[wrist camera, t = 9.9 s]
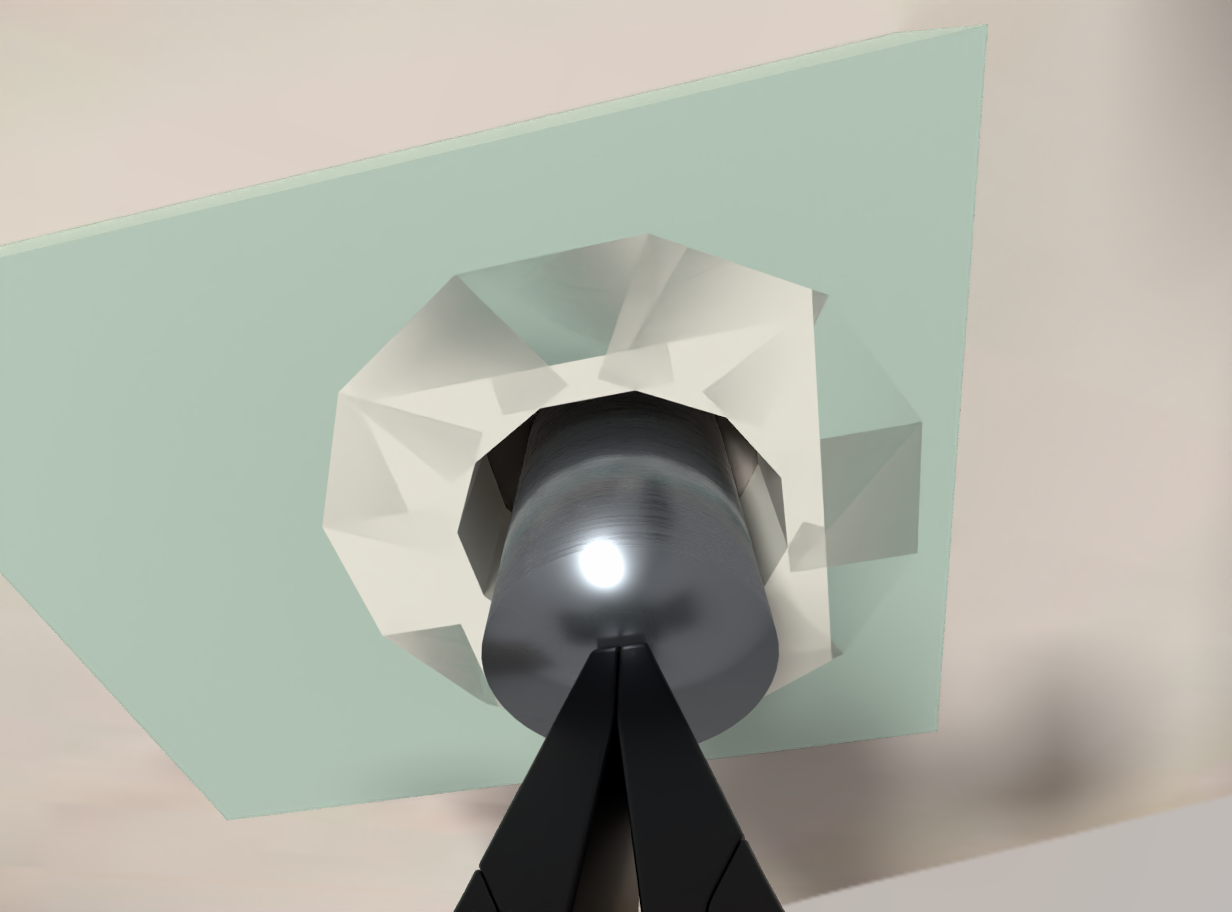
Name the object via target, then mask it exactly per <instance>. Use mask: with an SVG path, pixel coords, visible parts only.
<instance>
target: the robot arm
mask: <svg viewBox="0 0 1232 912" xmlns="http://www.w3.org/2000/svg"><path fill="white" fill-rule="evenodd" d="M479 868H480V870H481V871H480V870H476V871H475V872H474V874H473V876H472V878H471V880H470V882H469V884H468V886H467V888H466V890H465V891H464V893H463V895H462V897H461V899H460V901H459V903H458V904H457V906H456V908H455V910H454V912H638V905H639V899H640V907H641V912H785V911H784V909H783V908H782V906H781V904H780V902H779V900H778V899H777V897H776V895H775V893H774V891H773V889H772V888H771V886H770V884H769V882H768V880H767V878H766V876H765V875H764V873H763V871H762V869H761V867H760V865H759V863H758V861H757V859H756V857H755V855H754V853H753V851H752V849H751V847H750V845H749V843H748V842H747V841H746V840H745V837H744V834H743V832H742V830H741V828H740V826H739V824H738V822H737V820H736V818H735V816H734V814H733V812H732V810H731V808H730V806H729V804H728V802H727V800H726V798H725V796H724V794H723V792H722V790H721V788H720V786H719V784H718V782H717V780H716V778H715V776H714V774H713V772H712V770H711V768H710V766H709V764H708V762H707V760H706V758H705V756H704V754H703V752H702V750H701V748H700V746H699V744H698V742H697V740H696V738H695V736H694V734H693V732H692V730H691V728H690V726H689V724H688V722H687V720H686V718H685V716H684V714H683V712H682V711H681V709H680V707H679V705H678V703H677V701H676V699H675V697H674V695H673V693H672V691H671V689H670V687H669V685H668V683H667V681H666V679H665V677H664V675H663V673H662V671H661V669H660V667H659V665H658V663H657V661H656V659H655V657H654V655H653V653H652V651H651V649H650V647H649V645H648V644H647V643H645V642H642V643H635V644H628V645H623V646H622V647H621V649H619V648H618V647H608V648H601V649H595V650H593V651H592V652H591V653H590V655H589V657H588V658H587V660H586V662H585V664H584V666H583V668H582V670H581V672H580V674H579V676H578V677H577V679H576V681H575V683H574V685H573V687H572V689H571V691H570V693H569V695H568V696H567V698H566V700H565V702H564V704H563V706H562V708H561V710H560V712H559V713H558V715H557V717H556V719H555V721H554V723H553V725H552V727H551V729H550V731H549V732H548V734H547V736H546V738H545V740H544V742H543V744H542V746H541V748H540V750H539V751H538V753H537V755H536V757H535V759H534V761H533V763H532V765H531V767H530V769H529V770H528V772H527V774H526V776H525V778H524V780H523V782H522V784H521V786H520V788H519V789H518V791H517V793H516V795H515V797H514V799H513V801H512V803H511V805H510V806H509V808H508V810H507V812H506V814H505V816H504V818H503V820H502V822H501V824H500V825H499V827H498V829H497V831H496V833H495V835H494V837H493V839H492V841H491V843H490V844H489V846H488V848H487V850H486V852H485V854H484V856H483V858H482V860H481V862H480V864H479Z"/></svg>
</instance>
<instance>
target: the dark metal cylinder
mask: <svg viewBox="0 0 1232 912" xmlns="http://www.w3.org/2000/svg"><path fill="white" fill-rule="evenodd" d="M642 642H645V643H647V644H648V645H649V647H650V649H651V651H652V653H653V655H654V657H655V659H656V661H657V663H658V665H659V667H660V669H661V671H662V673H663V675H664V677H665V679H666V681H667V683H668V685H669V687H670V689H671V691H672V693H673V695H674V697H675V699H676V701H677V703H678V705H679V707H680V709H681V711H682V712H683V714H684V716H685V718H686V720H687V722H688V724H689V726H690V728H691V730H692V732H693V734H694V736H695V738H696V740H697V742H698V743H701V742H703V741H706V740H708V739H710V738H712V737H714V736H717V735H719V734H721V733H722V732H724V731H726V730H727V729H729V728H731V727H732V726H734V725H735V724H736V723H738V722H739V721H740V720H742V719H743V718H744V717H746V716H747V715H748V714H749V713H750V712H751V711H752V710H753V709H754V708H755V707H756V706H757V705H758V703H759V702H760V701H761V699H762V698H763V697H764V696H765V694H766V692H767V691H768V689H769V687H770V685H771V683H772V681H773V678H774V676H775V673H776V670H777V665H778V659H779V642H778V637H777V633H776V628H775V625H774V621H773V617H772V614H771V610H770V607H769V603H768V600H767V596H766V592H765V589H764V585H763V582H762V578H761V575H760V571H759V568H758V564H757V560H756V557H755V553H754V550H753V546H752V543H751V539H750V535H749V532H748V528H747V525H746V521H745V518H744V514H743V511H742V507H741V503H740V500H739V496H738V493H737V489H736V486H735V482H734V478H733V475H732V471H731V468H730V464H729V461H728V457H727V453H726V450H725V446H724V443H723V439H722V436H721V432H720V429H719V426H718V423H717V421H716V418H715V416H714V414H713V413H710V412H706V411H703V410H700V409H696V408H693V407H690V406H686V405H683V404H680V403H676V402H673V401H670V400H666V399H663V398H660V397H656V396H653V395H649V394H646V393H643V392H639V391H636V390H634V391H629V392H624V393H618V394H613V395H608V396H602V397H597V398H592V399H587V400H581V401H576V402H571V403H565V404H560V405H555V406H549V407H544V408H541V409H540V411H539V412H538V414H537V416H536V418H535V420H534V423H533V425H532V428H531V431H530V436H529V440H528V444H527V449H526V453H525V457H524V462H523V466H522V470H521V475H520V479H519V484H518V488H517V492H516V497H515V501H514V505H513V510H512V514H511V518H510V523H509V527H508V531H507V536H506V540H505V544H504V549H503V553H502V557H501V562H500V566H499V571H498V575H497V579H496V584H495V588H494V592H493V597H492V601H491V605H490V610H489V614H488V618H487V623H486V627H485V631H484V636H483V641H482V653H481V659H482V665H483V671H484V674H485V677H486V680H487V683H488V685H489V687H490V689H491V690H492V692H493V694H494V696H495V697H496V699H497V700H498V701H499V702H500V704H501V705H502V706H503V707H504V709H506V710H507V711H508V712H509V713H510V714H511V715H512V716H513V717H514V718H515V719H516V720H518V721H519V722H520V723H522V724H523V725H524V726H526V727H527V728H529V729H530V730H532V731H534V732H536V733H537V734H539V735H541V736H543V737H545V738H546V736H547V734H548V732H549V731H550V729H551V727H552V725H553V723H554V721H555V719H556V717H557V715H558V713H559V712H560V710H561V708H562V706H563V704H564V702H565V700H566V698H567V696H568V695H569V693H570V691H571V689H572V687H573V685H574V683H575V681H576V679H577V677H578V676H579V674H580V672H581V670H582V668H583V666H584V664H585V662H586V660H587V658H588V657H589V655H590V653H591V652H592V651H593V650H595V649H601V648H608V647H618V648H619V649H621V647H622V646H623V645H628V644H635V643H642Z"/></svg>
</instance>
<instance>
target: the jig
mask: <svg viewBox="0 0 1232 912" xmlns="http://www.w3.org/2000/svg"><path fill="white" fill-rule="evenodd" d="M987 27H988V24H986V25H975V26H964V27H953V28H942V29H931V30H920V31H909V32H898V33H894V34H890V35H885V36H881V37H877V38H873V39H869V40H864V41H860V42H856V43H852V44H848V45H843V46H839V47H835V48H831V49H827V50H822V51H818V52H814V53H810V54H806V55H801V56H797V57H793V58H789V59H785V60H780V61H776V62H772V63H768V64H764V65H759V66H755V67H751V68H747V69H743V70H738V71H734V72H730V73H726V74H722V75H717V76H713V77H709V78H705V79H701V80H696V81H692V82H688V83H684V84H679V85H675V86H671V87H667V88H663V89H658V90H654V91H650V92H646V93H642V94H637V95H633V96H629V97H625V98H621V99H616V100H612V101H608V102H604V103H600V104H595V105H591V106H587V107H583V108H579V109H574V110H570V111H566V112H562V113H558V114H553V115H549V116H545V117H541V118H537V119H532V120H528V121H524V122H520V123H516V124H511V125H507V126H503V127H499V128H495V129H490V130H486V131H482V132H478V133H474V134H469V135H465V136H461V137H457V138H452V139H448V140H444V141H440V142H436V143H431V144H427V145H423V146H419V147H415V148H410V149H406V150H402V151H398V152H394V153H389V154H385V155H381V156H377V157H373V158H368V159H364V160H360V161H356V162H352V163H347V164H343V165H339V166H335V167H331V168H326V169H322V170H318V171H314V172H310V173H305V174H301V175H297V176H293V177H289V178H284V179H280V180H276V181H272V182H268V183H263V184H259V185H255V186H251V187H247V188H242V189H238V190H234V191H230V192H225V193H221V194H217V195H213V196H209V197H204V198H200V199H196V200H192V201H188V202H183V203H179V204H175V205H171V206H167V207H162V208H158V209H154V210H150V211H146V212H141V213H137V214H133V215H129V216H125V217H120V218H116V219H112V220H108V221H104V222H99V223H95V224H91V225H87V226H83V227H78V228H74V229H70V230H66V231H62V232H57V233H53V234H49V235H45V236H41V237H36V238H32V239H28V240H24V241H19V242H15V243H11V244H7V245H3V246H0V573H1V574H2V575H3V576H4V577H5V578H6V579H7V581H8V582H9V583H10V584H11V585H12V586H13V587H14V588H15V589H16V590H17V591H18V593H19V594H20V595H21V596H22V597H23V598H24V599H25V600H26V601H27V602H28V603H29V605H30V606H31V607H32V608H33V609H34V610H35V611H36V612H37V613H38V614H39V615H40V617H41V618H42V619H43V620H44V621H45V622H46V623H47V624H48V625H49V626H50V627H51V629H52V630H53V631H54V632H55V633H56V634H57V635H58V636H59V637H60V638H61V640H62V641H63V642H64V643H65V644H66V645H67V646H68V647H69V648H70V649H71V650H72V652H73V653H74V654H75V655H76V656H77V657H78V658H79V659H80V660H81V661H82V662H83V664H84V665H85V666H86V667H87V668H88V669H89V670H90V671H91V672H92V673H93V674H94V676H95V677H96V678H97V679H98V680H99V681H100V682H101V683H102V684H103V685H104V686H105V688H106V689H107V690H108V691H109V692H110V693H111V694H112V695H113V696H114V697H115V698H116V700H117V701H118V702H119V703H120V704H121V705H122V706H123V707H124V708H125V709H126V710H127V712H128V713H129V714H130V715H131V716H132V717H133V718H134V719H135V720H136V721H137V722H138V724H139V725H140V726H141V727H142V728H143V729H144V730H145V731H146V732H147V733H148V734H149V736H150V737H151V738H152V739H153V740H154V741H155V742H156V743H157V744H158V745H159V746H160V748H161V749H162V750H163V751H164V752H165V753H166V754H167V755H168V756H169V757H170V758H171V760H172V761H173V762H174V763H175V764H176V765H177V766H178V767H179V768H180V769H181V771H182V772H183V773H184V774H185V775H186V776H187V777H188V778H189V779H190V780H191V781H192V783H193V784H194V785H195V786H196V787H197V788H198V789H199V790H200V791H201V792H202V793H203V795H204V796H205V797H206V798H207V799H208V800H209V801H210V802H211V803H212V804H213V805H214V807H215V808H216V809H217V810H218V811H219V812H220V813H221V814H222V815H223V816H224V817H225V819H226V820H234V819H242V818H250V817H258V816H266V815H274V814H282V813H290V812H298V811H306V810H314V809H322V808H330V807H337V806H345V805H353V804H361V803H369V802H377V801H385V800H393V799H401V798H409V797H417V796H425V795H433V794H441V793H449V792H457V791H465V790H473V789H481V788H489V787H497V786H505V785H513V784H520V783H522V782H523V780H524V778H525V776H526V774H527V772H528V770H529V769H530V767H531V765H532V763H533V761H534V759H535V757H536V755H537V753H538V751H539V750H540V748H541V746H542V744H543V742H544V740H545V737H543V736H541V735H539V734H537V733H536V732H534V731H532V730H530V729H529V728H527V727H526V726H524V725H523V724H522V723H520V722H519V721H518V720H516V719H515V718H514V717H513V716H512V715H511V714H510V713H509V712H508V711H507V710H506V709H504V707H503V706H502V705H501V704H500V702H499V701H498V700H497V699H496V697H495V696H494V694H493V692H492V690H491V689H490V687H489V685H488V683H487V680H486V677H485V674H484V671H483V665H482V659H481V653H482V641H483V636H484V631H485V627H486V623H487V618H488V614H489V610H490V605H491V601H492V597H493V592H494V588H495V584H496V579H497V575H498V571H499V566H500V562H501V557H502V553H503V549H504V544H505V540H506V536H507V531H508V527H509V523H510V518H511V514H512V512H511V511H510V510H508V509H507V508H506V507H505V504H504V501H503V499H502V496H501V493H500V490H499V488H498V485H497V482H496V479H495V477H494V474H493V471H492V468H491V466H490V463H489V460H488V457H487V455H486V453H488V452H489V451H490V450H491V449H492V448H494V447H495V446H496V445H497V444H498V443H500V442H501V441H502V440H503V439H504V438H505V437H507V436H508V435H509V434H510V433H511V432H513V431H514V430H515V429H516V428H517V427H518V426H520V425H521V424H522V423H523V422H524V421H526V420H527V419H528V418H529V417H530V416H532V415H533V414H534V413H535V412H536V411H537V410H539V409H540V408H544V407H549V406H555V405H560V404H565V403H571V402H576V401H581V400H587V399H592V398H597V397H602V396H608V395H613V394H618V393H624V392H629V391H634V390H636V391H639V392H643V393H646V394H649V395H653V396H656V397H660V398H663V399H666V400H670V401H673V402H676V403H680V404H683V405H686V406H690V407H693V408H696V409H700V410H703V411H706V412H710V413H713V414H716V415H720V416H723V417H726V418H727V419H728V420H729V421H730V422H731V423H732V424H733V425H734V426H735V427H736V429H737V430H738V431H739V432H740V433H741V434H742V435H743V436H744V437H745V438H746V440H747V441H748V442H749V443H750V444H751V445H752V446H753V447H754V448H755V449H756V450H757V455H758V465H757V467H756V469H755V471H754V473H753V475H752V477H751V479H750V480H749V482H748V484H747V486H746V488H745V490H744V492H743V494H742V496H741V498H740V503H741V507H742V511H743V514H744V518H745V521H746V525H747V528H748V532H749V535H750V539H751V543H752V546H753V550H754V553H755V557H756V560H757V564H758V568H759V571H760V575H761V578H762V582H763V585H764V589H765V592H766V596H767V600H768V603H769V607H770V610H771V614H772V617H773V621H774V625H775V628H776V633H777V637H778V642H779V659H778V665H777V670H776V673H775V676H774V678H773V681H772V683H771V685H770V687H769V689H768V691H767V692H766V694H765V696H764V697H763V698H762V699H761V701H760V702H759V703H758V705H757V706H756V707H755V708H754V709H753V710H752V711H751V712H750V713H749V714H748V715H747V716H746V717H744V718H743V719H742V720H740V721H739V722H738V723H736V724H735V725H734V726H732V727H731V728H729V729H727V730H726V731H724V732H722V733H721V734H719V735H717V736H714V737H712V738H710V739H708V740H706V741H703V742H701V743H698V744H699V746H700V748H701V750H702V752H703V754H704V756H705V758H706V760H711V759H719V758H727V757H735V756H743V755H751V754H759V753H767V752H775V751H783V750H791V749H799V748H807V747H815V746H823V745H831V744H839V743H847V742H855V741H863V740H871V739H878V738H886V737H894V736H902V735H910V734H918V733H926V732H934V731H937V724H938V710H939V696H940V682H941V668H942V654H943V640H944V626H945V613H946V599H947V585H948V571H949V557H950V543H951V529H952V515H953V501H954V487H955V473H956V459H957V445H958V431H959V417H960V403H961V390H962V376H963V362H964V348H965V334H966V320H967V306H968V292H969V278H970V264H971V250H972V236H973V222H974V208H975V194H976V180H977V166H978V153H979V139H980V125H981V111H982V97H983V83H984V69H985V55H986V41H987Z"/></svg>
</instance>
